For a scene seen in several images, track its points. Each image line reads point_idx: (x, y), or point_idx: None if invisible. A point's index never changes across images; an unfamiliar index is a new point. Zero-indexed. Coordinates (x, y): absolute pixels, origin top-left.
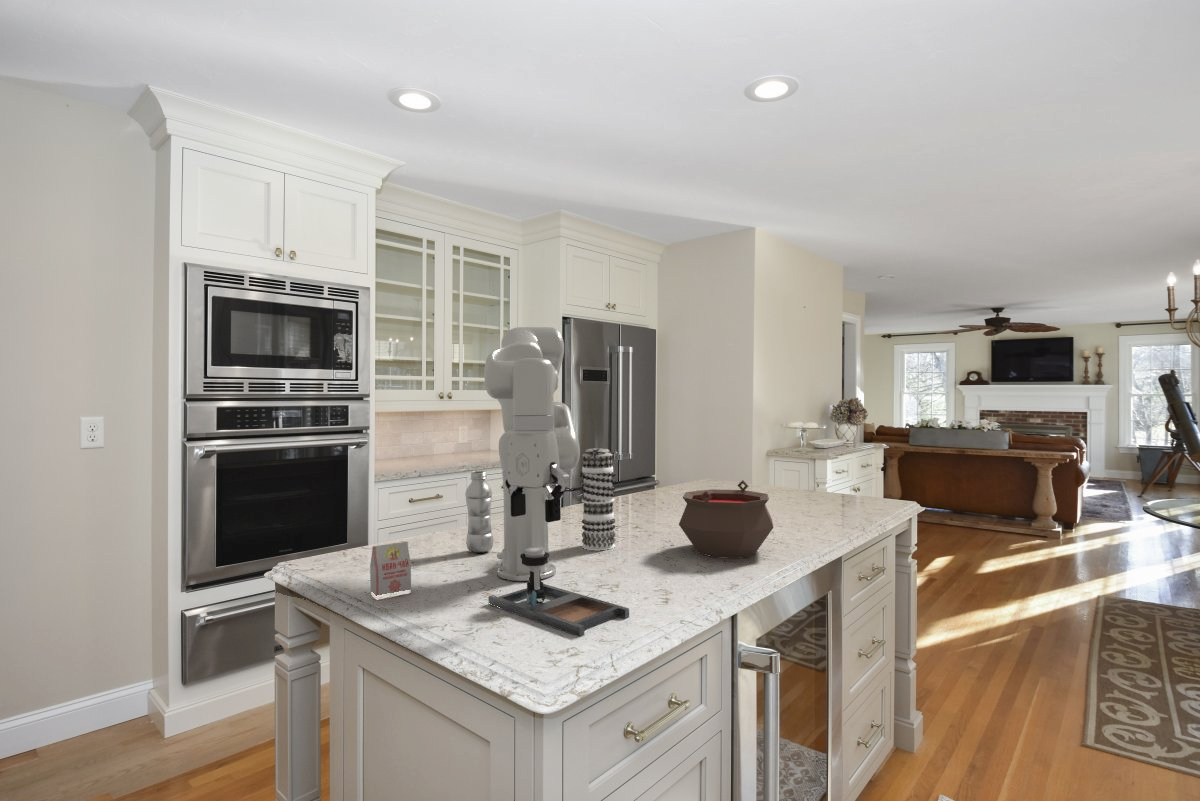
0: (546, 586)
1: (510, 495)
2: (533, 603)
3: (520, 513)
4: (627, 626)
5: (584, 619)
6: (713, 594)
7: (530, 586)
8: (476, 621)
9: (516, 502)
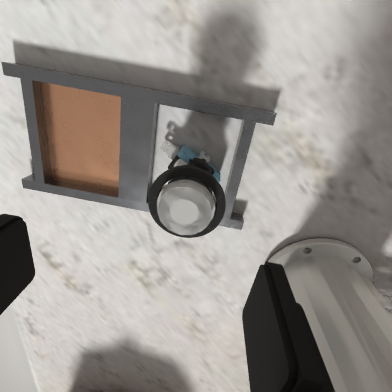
0: None
1: (325, 382)
2: (185, 147)
3: (250, 298)
4: (4, 148)
5: (28, 103)
6: (25, 298)
7: (193, 161)
8: (228, 9)
9: (270, 340)
